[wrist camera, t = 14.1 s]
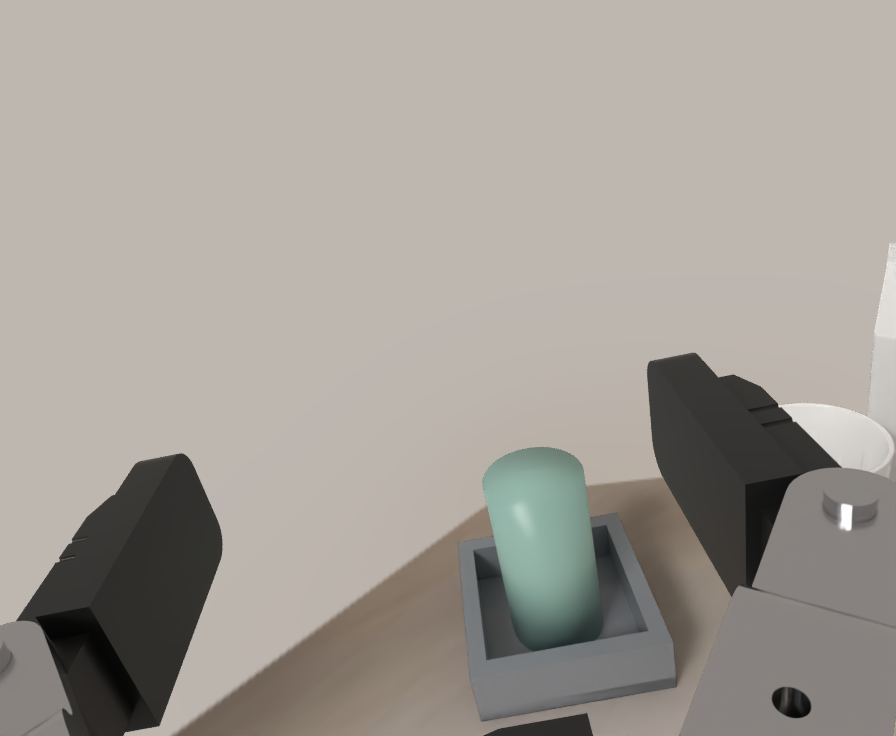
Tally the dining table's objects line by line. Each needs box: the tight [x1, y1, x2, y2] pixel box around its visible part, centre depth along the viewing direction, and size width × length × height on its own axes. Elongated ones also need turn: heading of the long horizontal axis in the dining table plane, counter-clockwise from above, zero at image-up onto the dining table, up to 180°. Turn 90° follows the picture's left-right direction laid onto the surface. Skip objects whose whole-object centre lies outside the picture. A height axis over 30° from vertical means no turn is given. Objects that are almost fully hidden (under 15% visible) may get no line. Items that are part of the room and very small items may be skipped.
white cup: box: [778, 403, 895, 479], centre depth 41 cm, size 8×8×10 cm
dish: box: [458, 513, 677, 721], centre depth 42 cm, size 11×11×4 cm
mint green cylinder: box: [483, 447, 603, 652], centre depth 40 cm, size 6×6×11 cm
